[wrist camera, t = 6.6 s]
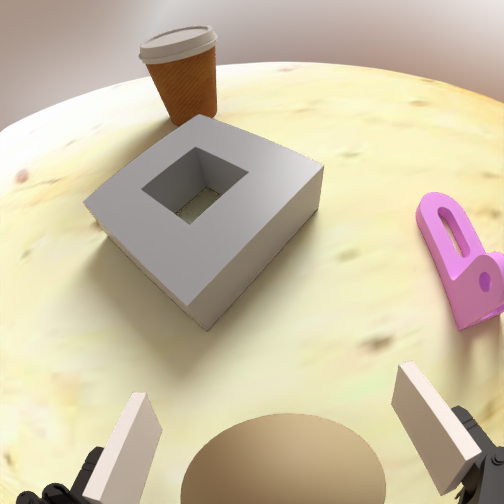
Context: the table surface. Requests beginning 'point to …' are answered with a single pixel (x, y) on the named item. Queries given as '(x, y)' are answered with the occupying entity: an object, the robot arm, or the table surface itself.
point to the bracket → (462, 261)
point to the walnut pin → (285, 465)
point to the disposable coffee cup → (184, 71)
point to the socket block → (207, 211)
